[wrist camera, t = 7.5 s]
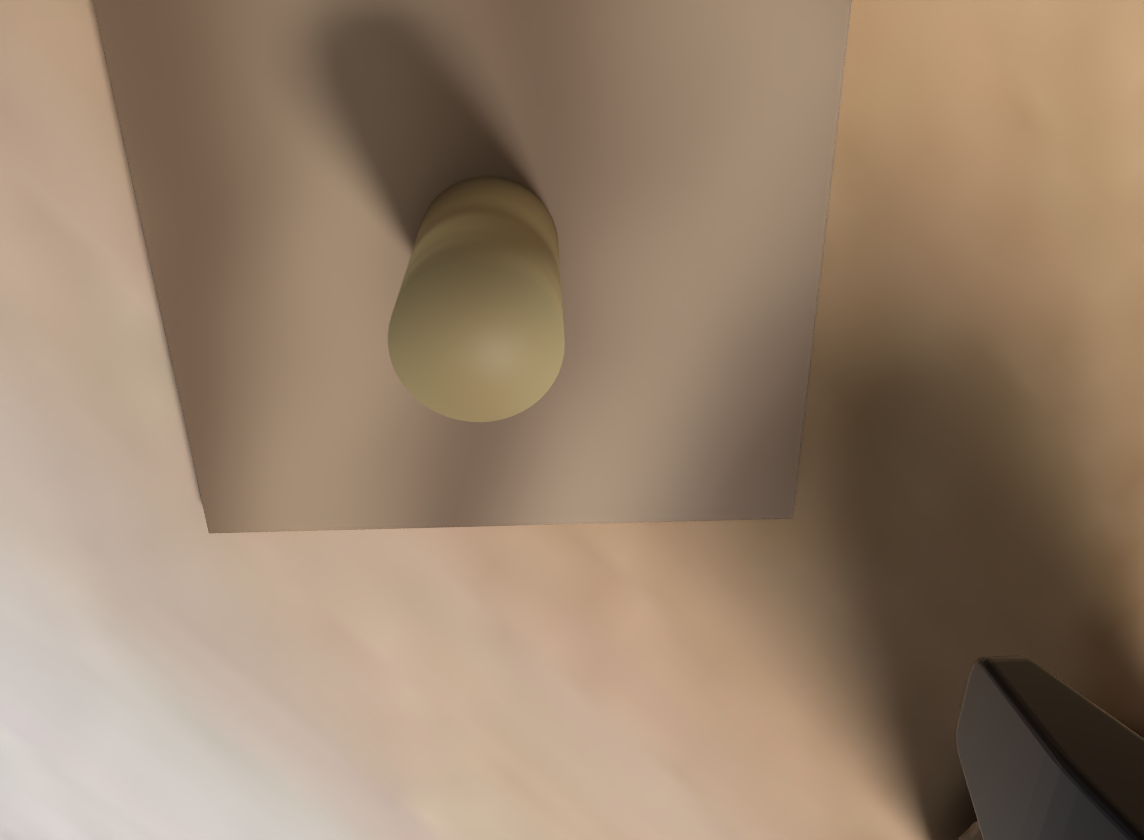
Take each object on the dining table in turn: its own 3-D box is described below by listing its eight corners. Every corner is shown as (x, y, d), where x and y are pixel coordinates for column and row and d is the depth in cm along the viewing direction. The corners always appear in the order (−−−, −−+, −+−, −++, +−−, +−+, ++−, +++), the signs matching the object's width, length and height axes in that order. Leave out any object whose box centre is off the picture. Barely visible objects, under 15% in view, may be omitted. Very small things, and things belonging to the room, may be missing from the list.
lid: (223, 502, 23) (136, 680, 18) (93, -137, 17) (-95, -140, 12) (780, 488, 23) (848, 660, 18) (848, -144, 17) (977, -150, 12)
